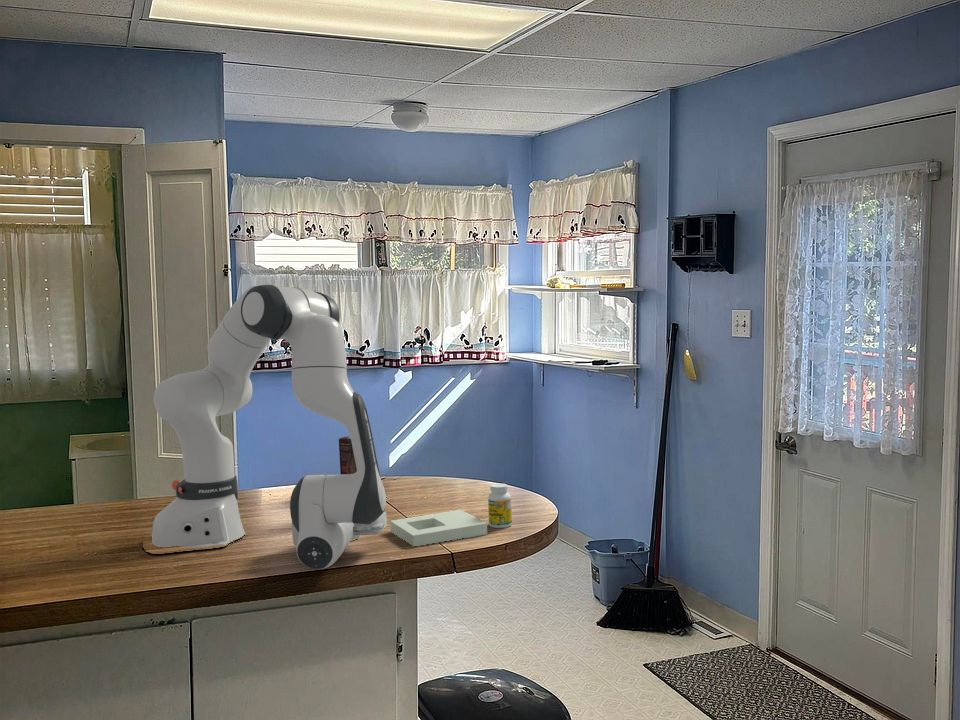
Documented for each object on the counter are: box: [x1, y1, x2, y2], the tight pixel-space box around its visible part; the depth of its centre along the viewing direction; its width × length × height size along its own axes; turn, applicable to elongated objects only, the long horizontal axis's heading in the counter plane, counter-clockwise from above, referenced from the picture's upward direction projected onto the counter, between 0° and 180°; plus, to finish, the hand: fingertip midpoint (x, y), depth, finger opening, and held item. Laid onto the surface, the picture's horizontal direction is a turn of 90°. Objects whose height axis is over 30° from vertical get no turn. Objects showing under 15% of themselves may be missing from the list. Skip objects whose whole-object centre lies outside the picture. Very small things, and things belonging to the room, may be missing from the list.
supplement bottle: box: [487, 482, 513, 529], centre depth 216 cm, size 5×5×10 cm
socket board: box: [389, 509, 488, 547], centre depth 211 cm, size 18×14×3 cm
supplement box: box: [338, 435, 350, 475], centre depth 248 cm, size 9×5×16 cm, turn 58°
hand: (346, 512), depth 207 cm, fingers open, 8 cm apart
